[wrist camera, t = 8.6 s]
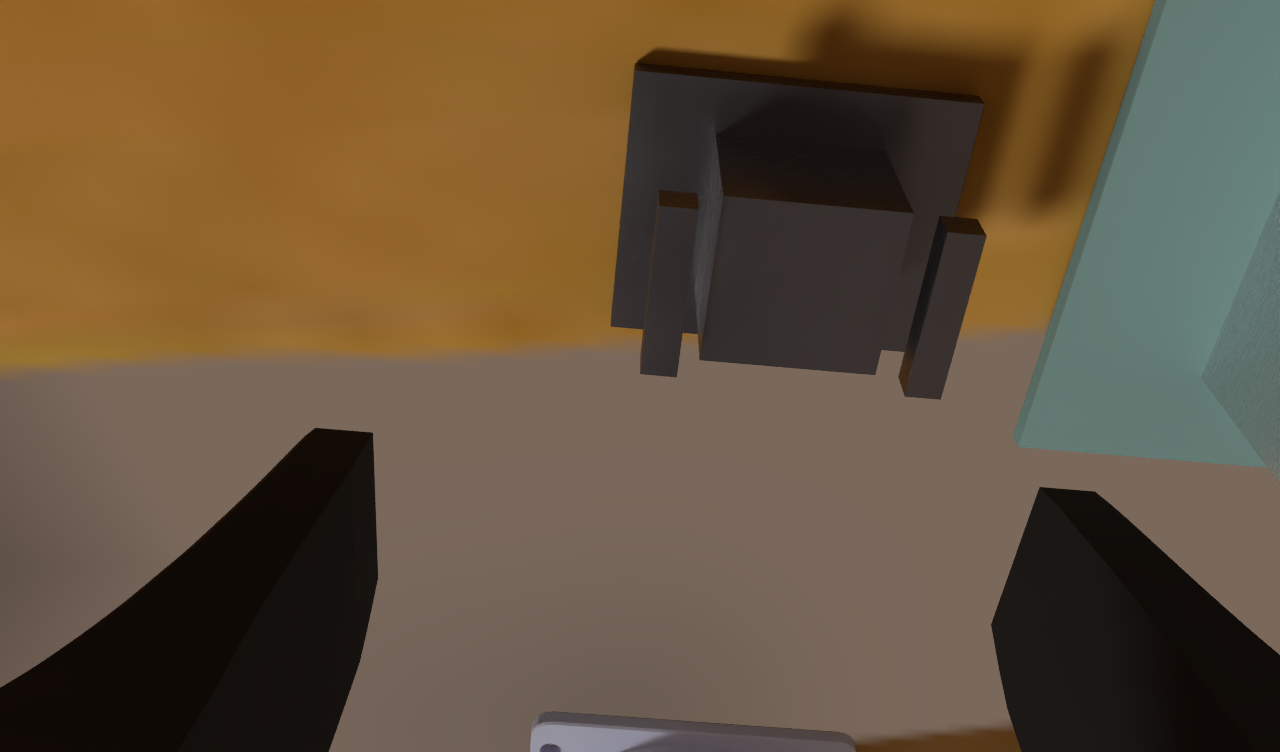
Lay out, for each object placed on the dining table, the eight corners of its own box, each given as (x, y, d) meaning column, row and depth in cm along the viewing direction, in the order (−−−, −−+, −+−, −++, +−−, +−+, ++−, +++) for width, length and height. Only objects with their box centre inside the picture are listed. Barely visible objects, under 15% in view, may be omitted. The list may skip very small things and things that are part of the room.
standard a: (914, 342, 23) (956, 450, 20) (611, 316, 23) (604, 421, 20) (979, 96, 20) (1037, 177, 17) (635, 63, 20) (631, 139, 17)
